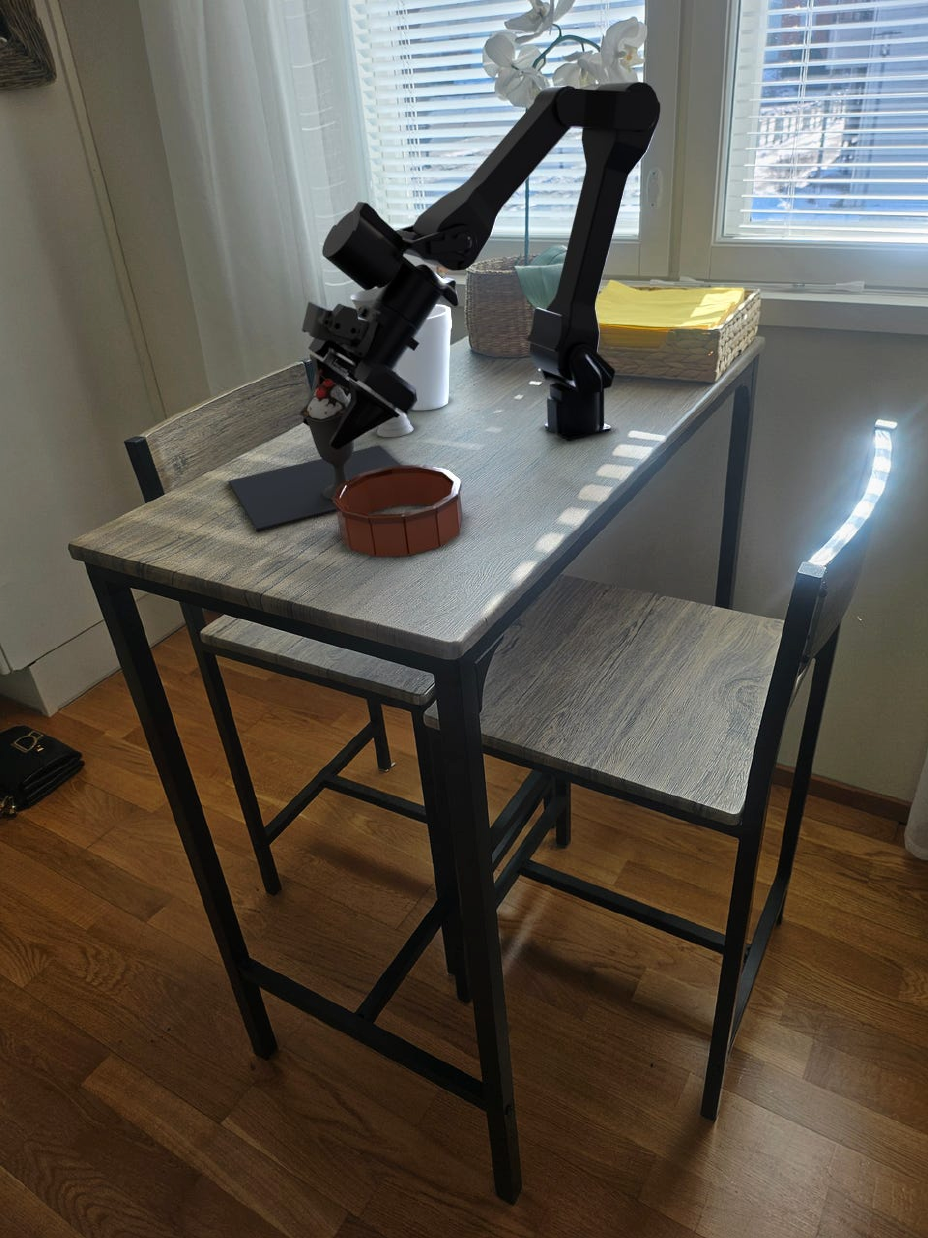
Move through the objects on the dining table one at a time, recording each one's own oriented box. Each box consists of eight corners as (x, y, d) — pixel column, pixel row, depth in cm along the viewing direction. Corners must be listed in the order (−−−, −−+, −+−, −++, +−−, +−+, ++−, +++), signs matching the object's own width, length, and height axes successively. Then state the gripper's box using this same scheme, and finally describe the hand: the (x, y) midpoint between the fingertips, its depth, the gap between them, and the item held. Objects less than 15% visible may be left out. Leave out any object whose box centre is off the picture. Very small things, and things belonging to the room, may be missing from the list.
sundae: (332, 509, 99) (308, 377, 91) (305, 492, 104) (280, 366, 96) (382, 491, 102) (363, 362, 94) (353, 475, 107) (333, 351, 99)
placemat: (379, 447, 115) (379, 445, 115) (425, 489, 103) (424, 485, 102) (228, 483, 109) (228, 480, 109) (257, 532, 97) (256, 528, 96)
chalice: (412, 439, 117) (395, 299, 107) (363, 440, 118) (342, 301, 109) (425, 420, 123) (410, 286, 113) (378, 421, 124) (360, 288, 115)
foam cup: (457, 411, 125) (449, 317, 118) (393, 416, 126) (380, 323, 119) (458, 390, 133) (450, 301, 126) (398, 395, 134) (387, 307, 127)
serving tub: (435, 492, 102) (431, 455, 99) (483, 535, 91) (480, 496, 89) (326, 520, 98) (319, 483, 95) (363, 569, 87) (357, 528, 85)
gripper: (311, 259, 99) (236, 377, 101) (373, 282, 84) (285, 420, 86) (384, 317, 106) (313, 427, 108) (454, 349, 91) (370, 474, 93)
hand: (319, 435), depth 98 cm, fingers open, 9 cm apart
